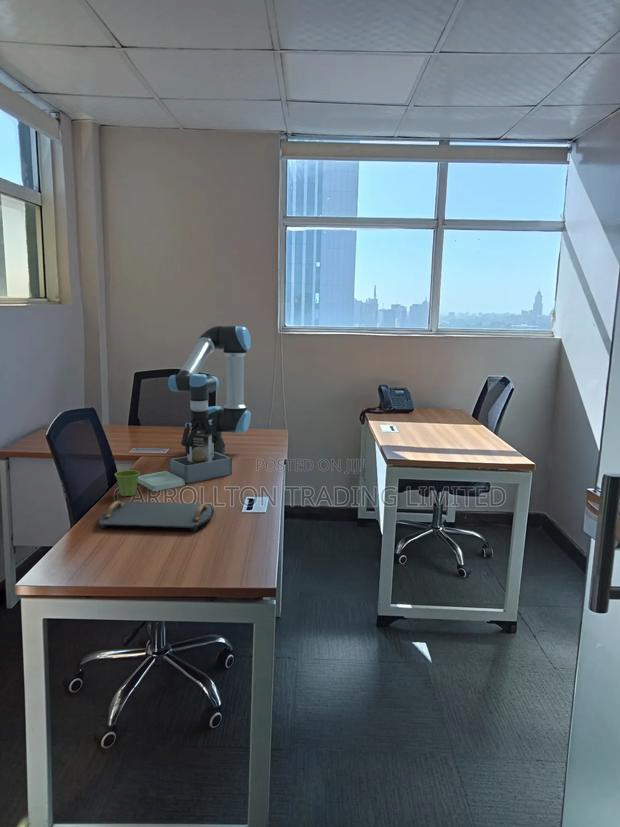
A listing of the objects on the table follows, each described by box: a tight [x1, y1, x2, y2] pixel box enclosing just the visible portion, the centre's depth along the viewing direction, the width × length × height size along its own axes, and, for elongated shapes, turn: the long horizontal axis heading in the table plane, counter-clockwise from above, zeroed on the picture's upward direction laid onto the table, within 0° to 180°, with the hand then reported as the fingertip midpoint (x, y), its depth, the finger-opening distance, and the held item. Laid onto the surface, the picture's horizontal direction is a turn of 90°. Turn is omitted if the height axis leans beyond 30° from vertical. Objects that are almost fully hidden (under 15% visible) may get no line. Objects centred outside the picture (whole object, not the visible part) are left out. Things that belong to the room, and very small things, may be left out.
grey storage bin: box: [168, 452, 233, 484], centre depth 253 cm, size 23×15×8 cm, turn 130°
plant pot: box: [114, 469, 141, 497], centre depth 226 cm, size 9×9×9 cm
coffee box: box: [189, 432, 212, 465], centre depth 252 cm, size 9×6×16 cm
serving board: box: [98, 500, 215, 533], centre depth 199 cm, size 39×23×6 cm, turn 86°
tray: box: [137, 470, 186, 493], centre depth 240 cm, size 14×17×2 cm
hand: (200, 458), depth 253 cm, fingers closed on coffee box, 10 cm apart
